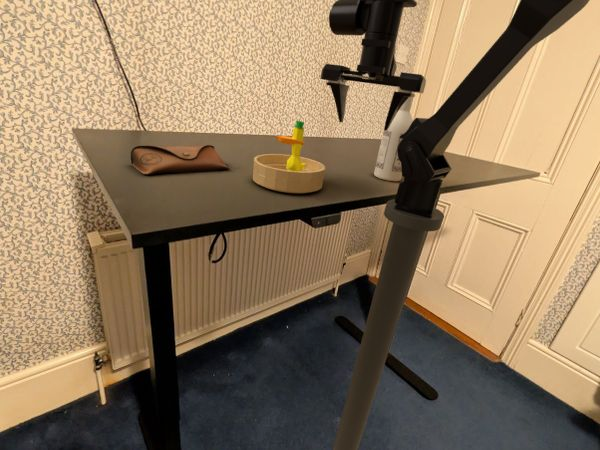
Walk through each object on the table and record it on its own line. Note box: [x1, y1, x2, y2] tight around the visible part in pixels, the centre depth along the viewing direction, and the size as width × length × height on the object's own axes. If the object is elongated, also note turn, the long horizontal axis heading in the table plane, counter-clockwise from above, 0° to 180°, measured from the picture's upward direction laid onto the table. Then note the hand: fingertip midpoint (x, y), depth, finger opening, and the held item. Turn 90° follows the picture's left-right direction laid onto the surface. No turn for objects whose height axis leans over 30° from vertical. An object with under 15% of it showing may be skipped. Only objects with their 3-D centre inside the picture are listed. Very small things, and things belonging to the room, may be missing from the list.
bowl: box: [251, 153, 326, 194], centre depth 65 cm, size 14×14×4 cm
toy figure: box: [276, 120, 308, 172], centre depth 63 cm, size 7×4×12 cm, turn 77°
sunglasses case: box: [130, 144, 230, 175], centre depth 67 cm, size 18×7×7 cm
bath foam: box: [373, 97, 415, 182], centre depth 79 cm, size 7×7×20 cm
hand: (362, 126), depth 64 cm, fingers open, 9 cm apart
